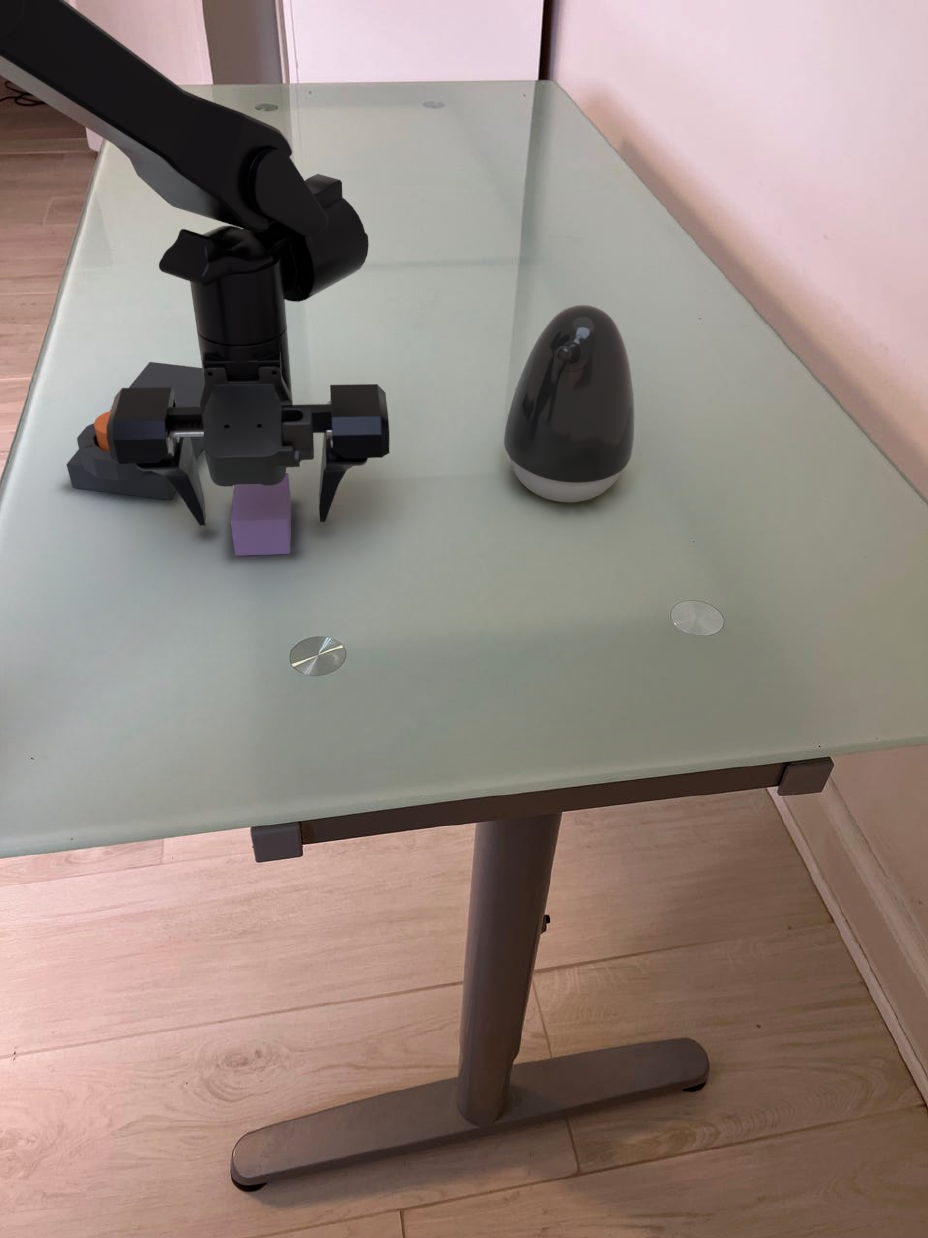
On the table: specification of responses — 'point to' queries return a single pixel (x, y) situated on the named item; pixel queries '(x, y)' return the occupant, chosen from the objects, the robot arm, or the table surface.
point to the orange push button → (102, 430)
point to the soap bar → (261, 519)
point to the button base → (106, 475)
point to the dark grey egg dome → (573, 408)
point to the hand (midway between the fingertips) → (263, 520)
